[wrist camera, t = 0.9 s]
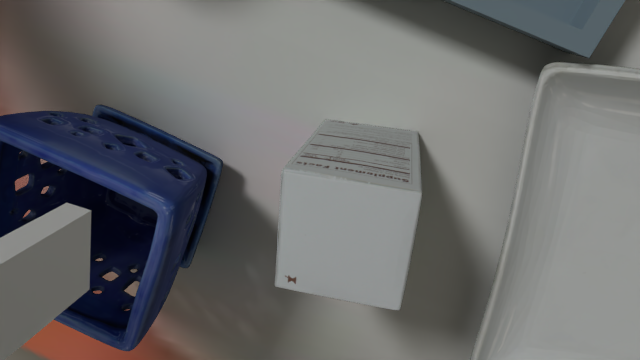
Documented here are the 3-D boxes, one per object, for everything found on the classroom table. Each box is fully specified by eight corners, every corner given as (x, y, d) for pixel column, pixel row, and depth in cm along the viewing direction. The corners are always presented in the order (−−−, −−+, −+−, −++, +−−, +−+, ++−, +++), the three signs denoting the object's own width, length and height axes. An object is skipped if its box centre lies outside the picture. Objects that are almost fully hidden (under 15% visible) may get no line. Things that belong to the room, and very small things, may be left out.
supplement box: (404, 217, 35) (400, 317, 24) (315, 201, 36) (269, 290, 25) (421, 129, 32) (427, 193, 21) (324, 114, 33) (277, 168, 22)
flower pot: (206, 270, 41) (131, 364, 30) (80, 211, 41) (-39, 282, 30) (249, 147, 36) (177, 206, 25) (105, 81, 36) (-29, 110, 25)
